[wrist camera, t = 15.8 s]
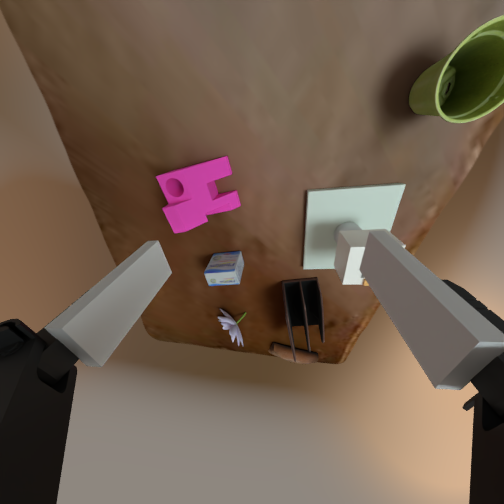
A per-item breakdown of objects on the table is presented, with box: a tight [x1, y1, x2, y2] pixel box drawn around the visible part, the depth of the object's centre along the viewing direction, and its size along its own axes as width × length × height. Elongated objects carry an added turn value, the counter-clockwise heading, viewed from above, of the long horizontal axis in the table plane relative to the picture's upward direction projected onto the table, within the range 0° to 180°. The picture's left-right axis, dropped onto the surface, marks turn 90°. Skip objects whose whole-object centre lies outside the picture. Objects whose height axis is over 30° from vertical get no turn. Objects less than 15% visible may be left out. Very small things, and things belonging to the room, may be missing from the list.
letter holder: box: [282, 277, 324, 362], centre depth 51 cm, size 10×20×14 cm, turn 13°
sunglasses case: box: [268, 342, 318, 364], centre depth 71 cm, size 18×7×7 cm
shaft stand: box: [303, 183, 406, 269], centre depth 36 cm, size 20×18×15 cm
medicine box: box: [204, 251, 244, 286], centre depth 47 cm, size 8×4×9 cm, turn 100°
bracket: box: [156, 156, 241, 233], centre depth 36 cm, size 12×10×10 cm
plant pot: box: [409, 15, 504, 123], centre depth 25 cm, size 9×9×9 cm
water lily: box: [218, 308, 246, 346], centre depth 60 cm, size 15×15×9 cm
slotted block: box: [334, 229, 406, 286], centre depth 33 cm, size 8×8×6 cm
